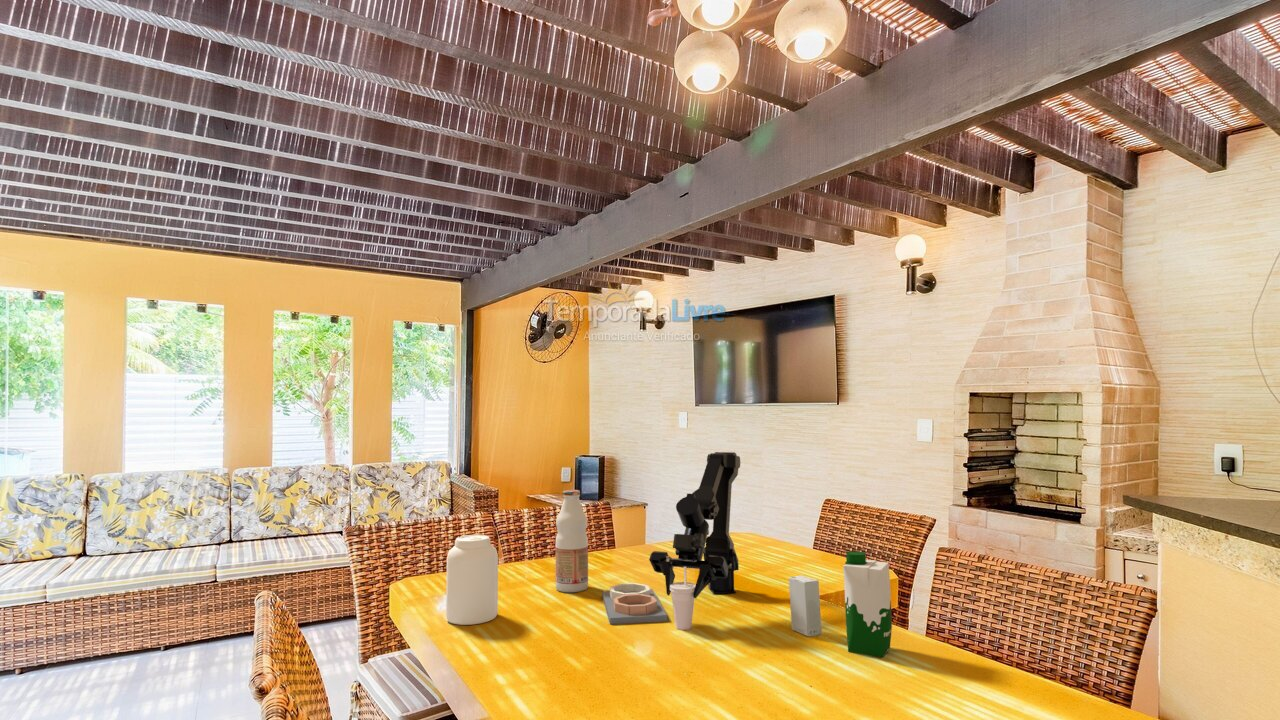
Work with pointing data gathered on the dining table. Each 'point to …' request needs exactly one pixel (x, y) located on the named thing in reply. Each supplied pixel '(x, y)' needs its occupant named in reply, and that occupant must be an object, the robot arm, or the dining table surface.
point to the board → (632, 604)
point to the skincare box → (805, 605)
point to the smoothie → (683, 603)
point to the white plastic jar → (472, 581)
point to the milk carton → (867, 605)
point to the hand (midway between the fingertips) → (681, 595)
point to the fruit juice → (571, 545)
